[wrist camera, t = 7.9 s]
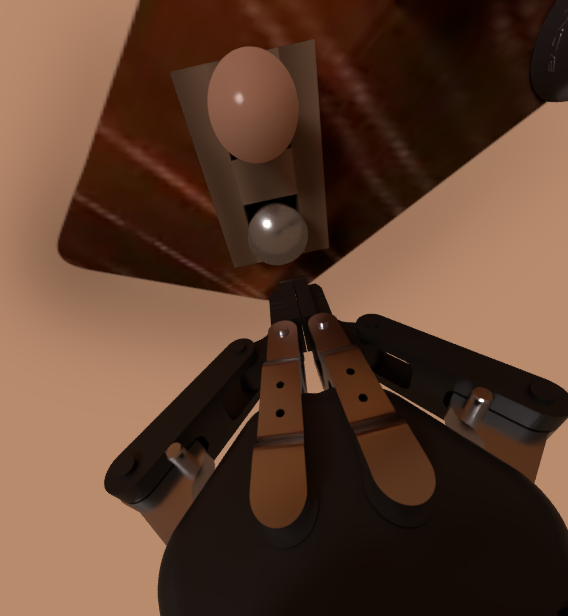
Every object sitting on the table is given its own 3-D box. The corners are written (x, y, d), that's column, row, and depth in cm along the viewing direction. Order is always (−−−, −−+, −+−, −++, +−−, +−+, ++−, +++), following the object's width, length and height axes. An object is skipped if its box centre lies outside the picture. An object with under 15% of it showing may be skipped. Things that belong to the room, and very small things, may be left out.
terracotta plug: (278, 67, 19) (291, 36, 13) (289, 147, 22) (303, 153, 16) (211, 82, 19) (192, 58, 13) (232, 160, 22) (224, 171, 16)
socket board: (302, 57, 20) (314, 39, 16) (318, 231, 29) (328, 247, 25) (185, 83, 21) (169, 71, 17) (236, 249, 29) (234, 267, 25)
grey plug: (291, 183, 26) (303, 199, 19) (298, 231, 29) (311, 258, 23) (243, 193, 26) (240, 213, 20) (255, 240, 29) (255, 270, 23)
